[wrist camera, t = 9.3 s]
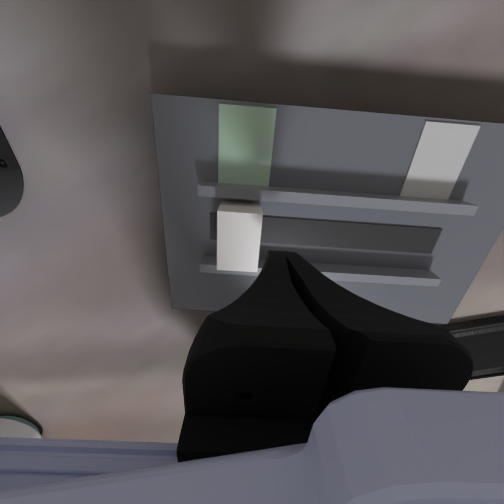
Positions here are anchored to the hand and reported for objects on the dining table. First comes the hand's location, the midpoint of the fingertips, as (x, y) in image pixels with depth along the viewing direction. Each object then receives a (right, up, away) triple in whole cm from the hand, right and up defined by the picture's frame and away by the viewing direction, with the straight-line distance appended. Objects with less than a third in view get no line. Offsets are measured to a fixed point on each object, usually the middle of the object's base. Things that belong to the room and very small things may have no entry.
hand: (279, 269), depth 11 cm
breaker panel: (+4, +3, +7) cm, 8 cm away
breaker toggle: (-2, +2, +4) cm, 5 cm away
